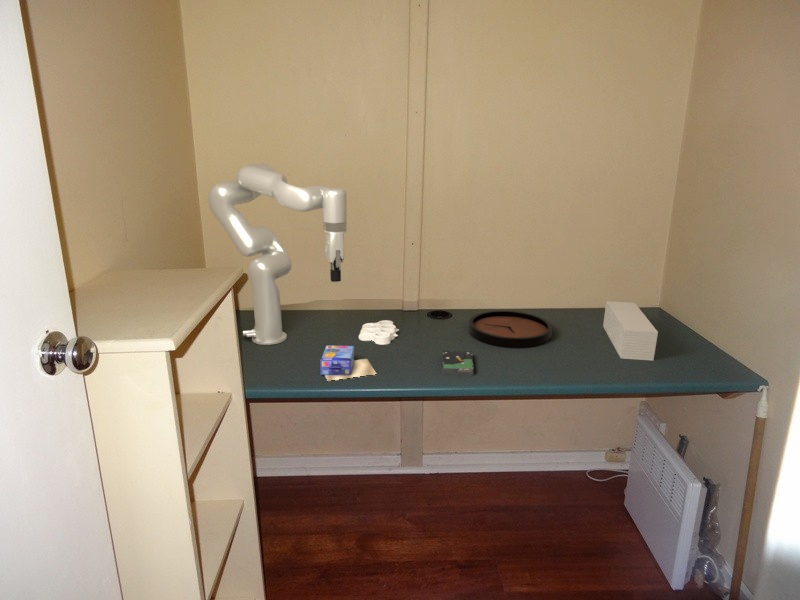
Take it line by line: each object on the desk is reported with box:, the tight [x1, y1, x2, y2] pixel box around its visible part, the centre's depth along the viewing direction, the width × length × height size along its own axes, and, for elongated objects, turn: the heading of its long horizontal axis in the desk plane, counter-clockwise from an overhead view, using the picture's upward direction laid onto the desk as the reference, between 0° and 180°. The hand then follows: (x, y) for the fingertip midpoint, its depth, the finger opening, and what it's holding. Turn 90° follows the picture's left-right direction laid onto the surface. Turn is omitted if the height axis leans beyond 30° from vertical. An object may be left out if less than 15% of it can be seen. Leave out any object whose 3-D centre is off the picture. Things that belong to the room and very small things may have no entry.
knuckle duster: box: [358, 319, 400, 346], centre depth 206 cm, size 3×18×15 cm
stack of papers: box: [602, 300, 659, 362], centre depth 200 cm, size 32×11×11 cm, turn 171°
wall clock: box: [468, 310, 553, 349], centre depth 210 cm, size 31×4×31 cm
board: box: [324, 358, 378, 382], centre depth 177 cm, size 16×12×1 cm
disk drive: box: [441, 349, 475, 376], centre depth 181 cm, size 10×3×15 cm
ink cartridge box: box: [319, 345, 355, 376], centre depth 177 cm, size 10×6×14 cm
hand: (335, 280), depth 183 cm, fingers closed
